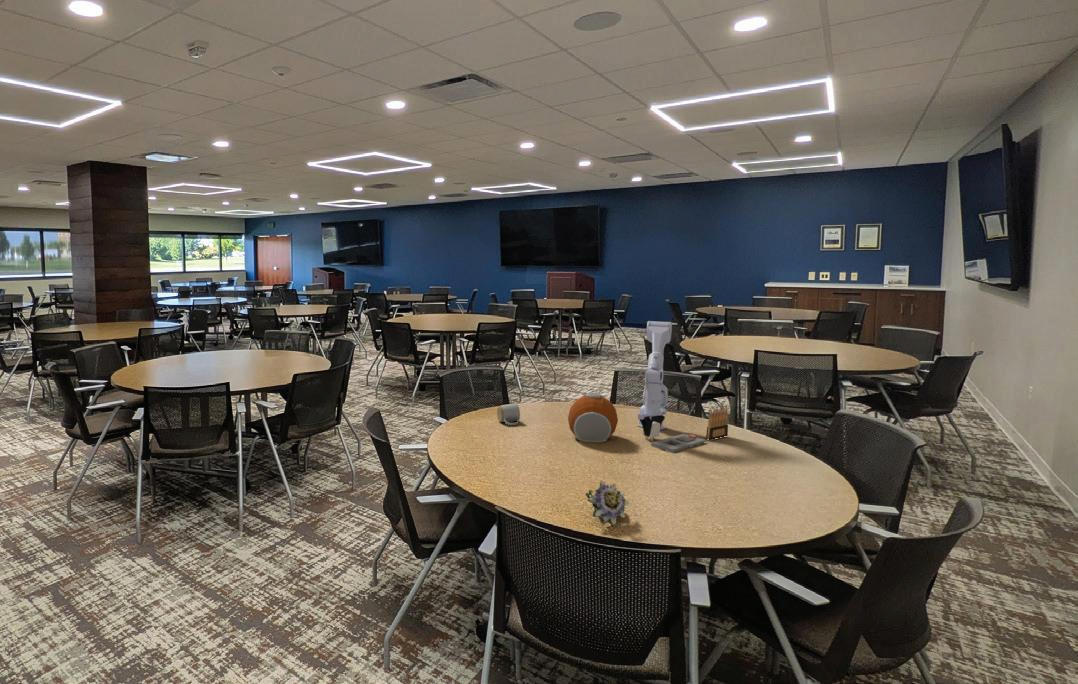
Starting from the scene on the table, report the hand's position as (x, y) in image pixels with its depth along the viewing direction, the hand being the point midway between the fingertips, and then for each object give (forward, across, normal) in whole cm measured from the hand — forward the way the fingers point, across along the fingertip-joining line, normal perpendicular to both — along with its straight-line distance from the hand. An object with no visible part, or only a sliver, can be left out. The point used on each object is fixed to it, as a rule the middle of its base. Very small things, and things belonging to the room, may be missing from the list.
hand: (651, 434), depth 221 cm
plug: (+2, 0, 0) cm, 2 cm away
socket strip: (+2, +4, -10) cm, 11 cm away
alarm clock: (+2, -17, +15) cm, 23 cm away
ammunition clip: (+2, +23, -14) cm, 27 cm away
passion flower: (+2, -65, -38) cm, 75 cm away
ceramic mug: (+2, -30, +50) cm, 59 cm away
